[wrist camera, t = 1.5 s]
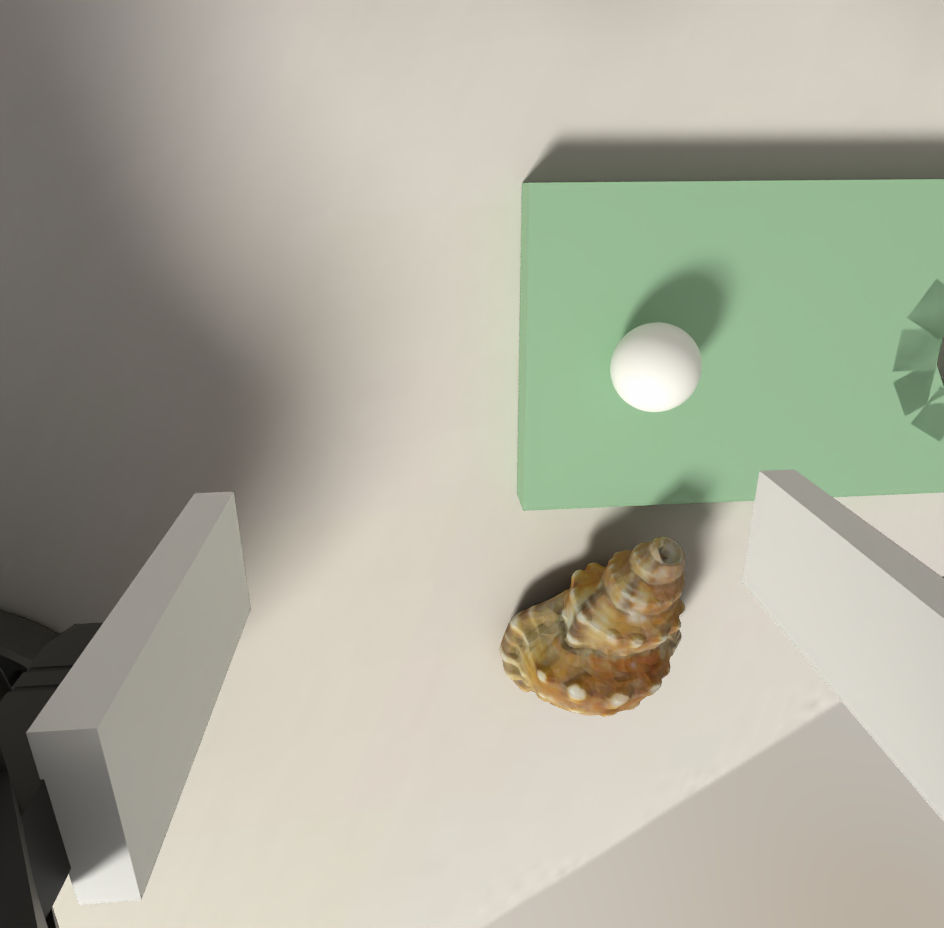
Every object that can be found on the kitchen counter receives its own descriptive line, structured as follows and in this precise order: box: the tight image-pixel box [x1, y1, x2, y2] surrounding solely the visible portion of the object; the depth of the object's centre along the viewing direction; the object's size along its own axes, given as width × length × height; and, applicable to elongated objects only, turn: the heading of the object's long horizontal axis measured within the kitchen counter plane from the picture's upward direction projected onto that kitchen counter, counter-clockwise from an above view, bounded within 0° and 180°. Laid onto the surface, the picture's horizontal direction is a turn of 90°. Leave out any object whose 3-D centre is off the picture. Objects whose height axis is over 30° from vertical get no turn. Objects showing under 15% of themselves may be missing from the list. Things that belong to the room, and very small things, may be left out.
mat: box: [517, 179, 944, 511], centre depth 32 cm, size 28×14×2 cm, turn 90°
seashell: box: [499, 536, 685, 717], centre depth 34 cm, size 9×8×10 cm
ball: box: [610, 322, 702, 412], centre depth 28 cm, size 4×4×4 cm
